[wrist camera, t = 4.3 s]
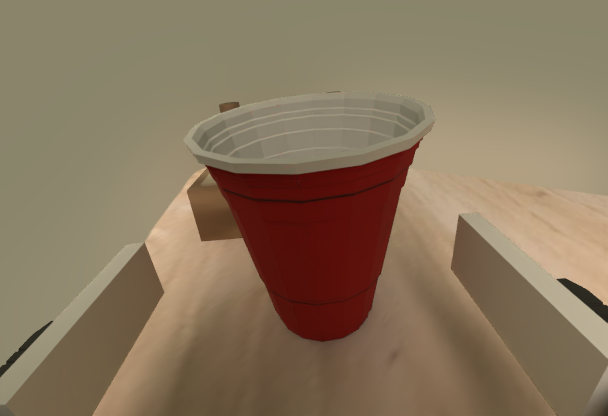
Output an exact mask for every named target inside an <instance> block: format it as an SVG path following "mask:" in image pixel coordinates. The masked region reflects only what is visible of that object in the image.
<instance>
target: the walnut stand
mask: <svg viewBox="0 0 608 416" xmlns="http://www.w3.org/2000/svg"><path fill="white" fill-rule="evenodd" d="M327 93H333V92H327ZM219 107H220V112H221V113H223V112H226V111H229V110H232V109H235V108H238V107H240V106H239V102H230V103H224V104H220V105H219ZM187 193H188V197H189V200H190V204H191V207H192V210H193V214H194V217H195V221H196V224H197V227H198V231H199V234H200V238H201V241H207V240H219V239H231V238H243V237H242V235H241V232H240V230H239V228H238V225H237V223H236V221H235V219H234V216H233V214H232V212H231V209H230V207H229V205H228V203H227V201H226V200H225V198H224V197H223V196H222V194H221V192H220V189H219V187H218V185H217V183H216V182H215V180H214V179H213V178H212V177H211V175H210V173H209V171H208V168H207V169H206V170H205V171H204V172H203V173H202V174H201V175H200V177H199V178H198V179H197V180H196V181H195V182H194V183H193V184H192V186H191V187H190V188H189V189H188V190H187Z"/></svg>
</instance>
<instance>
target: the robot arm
mask: <svg viewBox="0 0 608 416" xmlns="http://www.w3.org/2000/svg"><path fill="white" fill-rule="evenodd" d="M451 269H452V271H453V272H454V273H455V275H456V276H457V278H458V279H459V280H460V282H461V283H462V285H463V286H464V287H465V289H466V290H467V291H468V293H469V294H470V296H471V297H472V298H473V300H474V301H475V303H476V304H477V305H478V307H479V308H480V309H481V311H482V312H483V314H484V315H485V316H486V318H487V319H488V321H489V322H490V323H491V325H492V326H493V327H494V329H495V330H496V332H497V333H498V334H499V336H500V337H501V339H502V340H503V341H504V343H505V344H506V345H507V347H508V348H509V350H510V351H511V352H512V354H513V355H514V357H515V358H516V359H517V361H518V362H519V363H520V365H521V366H522V368H523V369H524V370H525V372H526V373H527V375H528V376H529V377H530V379H531V380H532V382H533V383H534V384H535V386H536V387H537V388H538V390H539V391H540V393H541V394H542V395H543V397H544V398H545V400H546V401H547V402H548V404H549V405H550V406H551V408H552V409H553V411H554V412H555V413H556V415H557V416H608V306H607V305H603V302H602V301H601V300H599V299H598V298H597V297H596V296H594V295H593V294H592V293H591V292H589V291H588V290H587V289H585V288H583V287H581V286H579V285H577V284H575V283H573V282H572V281H570V280H568V279H566V278H564V279H555V278H554V277H553V276H552V275H550V274H549V273H548V272H547V271H546V270H545V269H543V268H542V267H541V266H540V265H539V264H538V263H536V262H535V261H534V260H533V259H532V258H531V257H529V256H528V255H527V254H526V253H525V252H524V251H522V250H521V249H520V248H519V247H518V246H517V245H515V244H514V243H513V242H512V241H511V240H510V239H508V238H507V237H506V236H505V235H504V234H503V233H501V232H500V231H499V230H498V229H497V228H496V227H494V226H493V225H492V224H491V223H490V222H489V221H487V220H486V219H485V218H484V217H483V216H482V215H480V214H479V213H467V214H459V218H458V225H457V231H456V238H455V245H454V251H453V258H452V265H451ZM163 294H164V290H163V288H162V285H161V283H160V280H159V278H158V275H157V273H156V270H155V268H154V265H153V263H152V260H151V258H150V255H149V252H148V250H147V247H146V245H145V242H143V243H132V244H126V245H125V247H124V248H123V249H122V250H121V251H120V252H119V253H118V254H117V255H116V256H115V257H114V258H113V259H112V260H111V261H110V262H109V263H108V265H107V266H106V267H105V268H104V269H103V270H102V271H101V272H100V273H99V274H98V275H97V276H96V277H95V278H94V279H93V280H92V281H91V282H90V284H88V286H87V287H86V288H85V289H84V290H83V291H82V292H81V293H80V294H79V295H78V296H77V297H76V298H75V299H74V300H73V301H72V302H71V303H70V305H69V306H68V307H67V308H66V309H65V310H64V311H63V312H62V313H61V314H60V315H59V316H58V317H57V319H55V320H54V321H51V322H49V323H48V324H47V325H45V326H44V327H42V328H41V329H40V330H38V331H37V332H35V333H34V334H33V335H32V336H31V337H30V338H29V339H28V340H27V341H26V342H25V343H24V344H23V345H22V346H21V347H20V348H19V351H18V352H15V353H14V354H13V355H12V356H11V357H10V358H9V359H8V360H7V361H6V362H7V363H6V365H2V366H1V367H0V416H92V415H93V413H94V411H95V409H96V408H97V406H98V404H99V403H100V401H101V399H102V398H103V396H104V394H105V392H106V391H107V389H108V387H109V386H110V384H111V382H112V381H113V379H114V377H115V375H116V374H117V372H118V370H119V369H120V367H121V365H122V364H123V362H124V360H125V358H126V357H127V355H128V353H129V352H130V350H131V348H132V347H133V345H134V343H135V341H136V340H137V338H138V336H139V335H140V333H141V331H142V330H143V328H144V326H145V324H146V323H147V321H148V319H149V318H150V316H151V314H152V313H153V311H154V309H155V307H156V306H157V304H158V302H159V301H160V299H161V297H162V296H163Z"/></svg>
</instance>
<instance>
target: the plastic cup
mask: <svg viewBox="0 0 608 416" xmlns="http://www.w3.org/2000/svg"><path fill="white" fill-rule="evenodd" d="M434 122H435V117H434V114H433V111H432V108H431V106H429V105H427V104H425V103H422V102H420V101H418V100H415V99H413V98H410V97H405V96H398V95H392V94H386V93H374V92H372V93H371V92H333V93H316V94H306V95H299V96H291V97H284V98H277V99H272V100H267V101H263V102H258V103H253V104H249V105H244V106H241V107H238V108H235V109H232V110H229V111H226V112H223V113H220V114H216V115H214V116H212V117H211V118H209V119H207V120H205V121H203V122H201V123H199V124H197V125H195V126H193V127H192V129H191V130H190V131H189V133H188V134H187V135H186V137H185V138H184V139H183V141H184V143H185V144H186V146H187V147H188V149H189V150H190V151H191V153H192V154H193V155H194V156H195V158H196V159H197V160H198V162H199V163H201V164H204V165H205V166H206V167H207V168H208V171H209V173H210V175H211V177H212V178H213V179H214V180H215V182H216V183H217V185H218V187H219V189H220V192H221V194H222V196H223V197H224V198H225V200H226V201H227V203H228V205H229V207H230V209H231V212H232V214H233V216H234V219H235V221H236V223H237V225H238V228H239V230H240V232H241V235H242V237H243V239H244V241H245V244H246V246H247V248H248V251H249V253H250V255H251V257H252V260H253V262H254V264H255V267H256V269H257V271H258V273H259V276H260V278H261V279H262V281H263V282H264V284H265V285H266V288H267V290H268V293H269V295H270V298H271V300H272V303H273V305H274V307H275V310H276V312H277V313H278V315H279V316H280V318H281V319H282V321H283V322H284V323H285V325H286V326H287V328H288V329H289V330H290V331H292V332H294V333H295V334H297V335H299V336H300V337H302V338H305V339H311V340H317V341H328V340H334V339H340V338H344V337H345V336H347V335H349V334H351V333H352V332H354V331H356V330H358V329H359V328H360V326H361V325H362V323H363V322H364V321H365V319H366V318H367V317H368V313H369V311H370V310H371V308H372V303H373V298H374V294H375V289H376V284H377V280H378V277H379V276H380V274H381V271H382V267H383V262H384V258H385V254H386V250H387V246H388V242H389V238H390V233H391V229H392V225H393V221H394V217H395V213H396V208H397V204H398V200H399V196H400V192H401V188H402V187H403V186H404V184H405V180H406V176H407V172H408V169H409V166H410V165H411V164H412V162H413V158H414V154H415V151H416V149H417V148H418V147H419V143H420V141H421V140H422V139H423V137H424V136H425V135H426V134H427V133H429V132H430V131H431V129H432V127H433V124H434Z"/></svg>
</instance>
